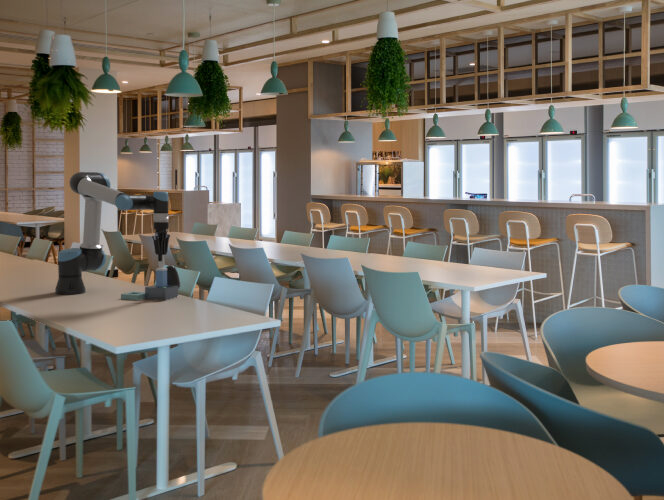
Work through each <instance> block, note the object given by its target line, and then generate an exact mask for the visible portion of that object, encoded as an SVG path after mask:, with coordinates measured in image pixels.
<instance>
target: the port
mask: <svg viewBox="0 0 664 500" xmlns="http://www.w3.org/2000/svg"><path fill="white" fill-rule="evenodd" d="M144 292H145V298H144V299H145V300H154V299H157V301H168V300H167V299H169V300H171V299H170V298H172V299H175V298H174V297H176V298H178V297H179V291H178V286H177V285H167V287H156V284H153V285H148V286H144ZM177 296H178V297H177Z"/></svg>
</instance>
